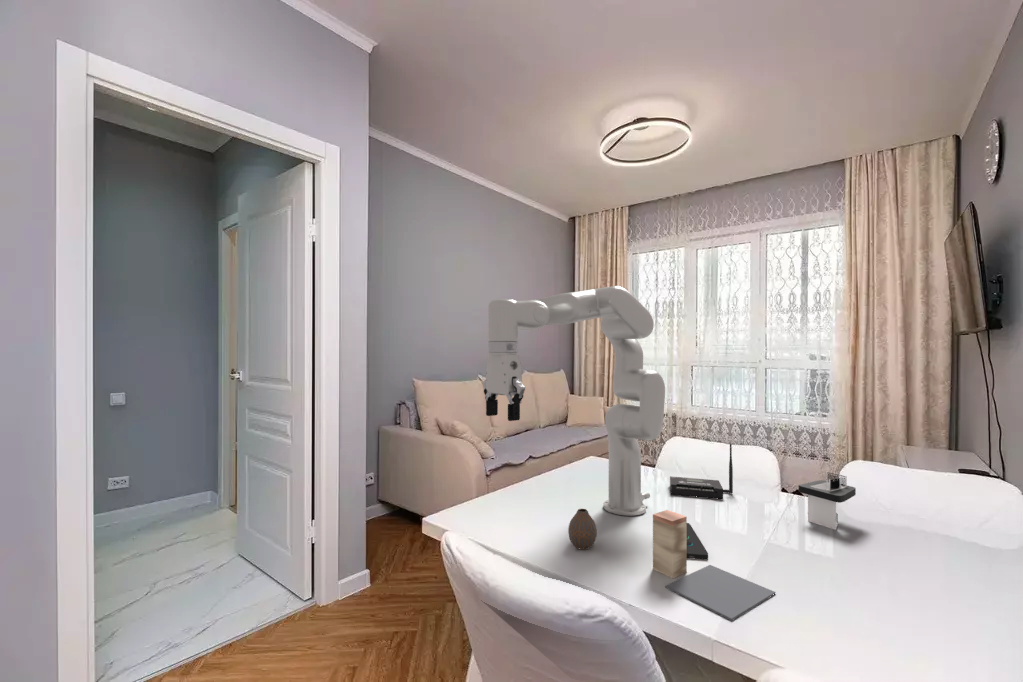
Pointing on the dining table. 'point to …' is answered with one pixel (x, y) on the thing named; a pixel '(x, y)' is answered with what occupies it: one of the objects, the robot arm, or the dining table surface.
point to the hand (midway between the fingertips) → (502, 417)
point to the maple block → (670, 543)
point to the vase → (582, 530)
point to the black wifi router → (701, 485)
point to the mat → (720, 591)
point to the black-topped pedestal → (826, 499)
